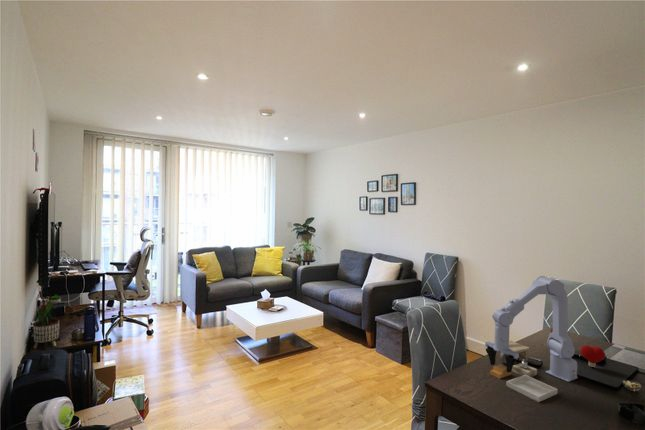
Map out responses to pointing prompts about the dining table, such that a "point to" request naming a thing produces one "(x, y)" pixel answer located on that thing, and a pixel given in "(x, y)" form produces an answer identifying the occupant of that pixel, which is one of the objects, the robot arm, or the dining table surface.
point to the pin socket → (521, 371)
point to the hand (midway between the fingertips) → (500, 368)
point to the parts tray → (531, 388)
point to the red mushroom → (592, 354)
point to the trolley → (518, 349)
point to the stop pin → (524, 364)
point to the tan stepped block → (499, 371)
